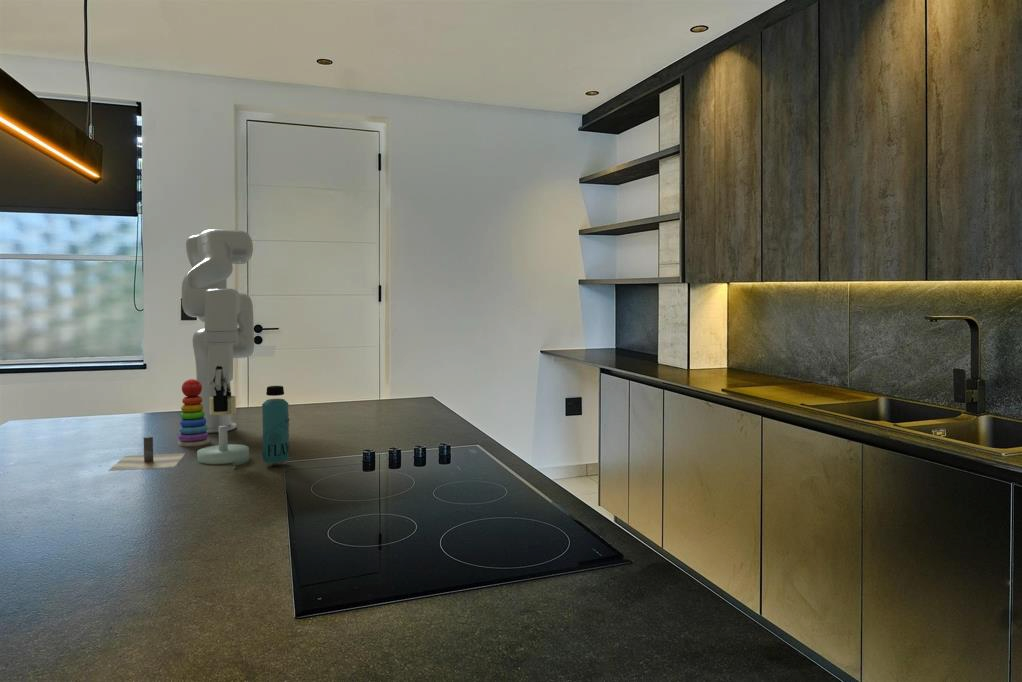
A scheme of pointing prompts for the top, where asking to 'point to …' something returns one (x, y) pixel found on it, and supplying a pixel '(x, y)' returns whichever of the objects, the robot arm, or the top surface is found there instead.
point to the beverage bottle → (275, 427)
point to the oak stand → (147, 459)
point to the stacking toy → (192, 416)
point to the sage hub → (223, 451)
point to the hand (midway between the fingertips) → (222, 408)
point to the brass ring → (230, 406)
